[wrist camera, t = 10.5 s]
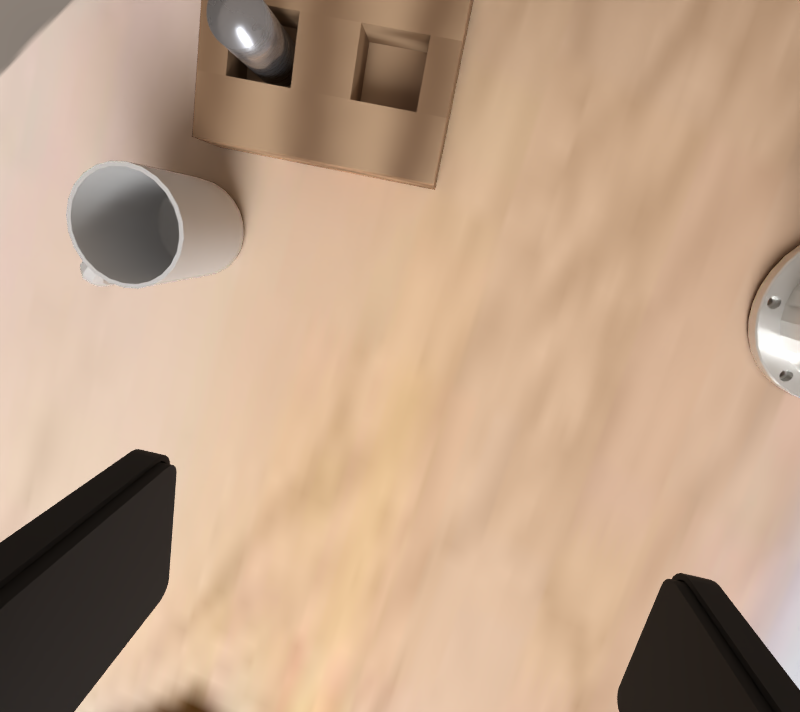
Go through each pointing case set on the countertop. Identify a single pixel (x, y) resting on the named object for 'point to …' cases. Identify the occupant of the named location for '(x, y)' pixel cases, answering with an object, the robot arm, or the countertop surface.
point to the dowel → (254, 38)
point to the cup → (150, 225)
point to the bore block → (342, 87)
